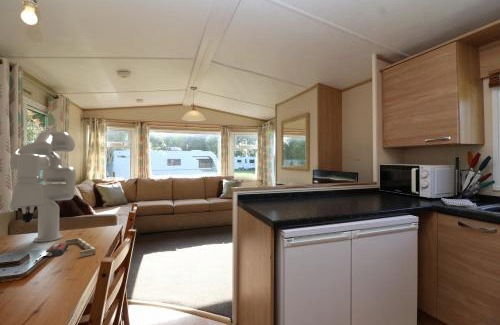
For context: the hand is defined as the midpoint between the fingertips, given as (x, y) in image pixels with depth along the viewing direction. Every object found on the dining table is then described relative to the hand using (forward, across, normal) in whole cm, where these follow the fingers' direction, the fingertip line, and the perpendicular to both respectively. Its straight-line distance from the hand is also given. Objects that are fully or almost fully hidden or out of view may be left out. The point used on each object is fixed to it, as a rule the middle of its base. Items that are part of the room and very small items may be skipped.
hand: (27, 222), depth 110 cm
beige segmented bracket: (+17, -20, -1) cm, 26 cm away
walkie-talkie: (+18, -10, -1) cm, 20 cm away
